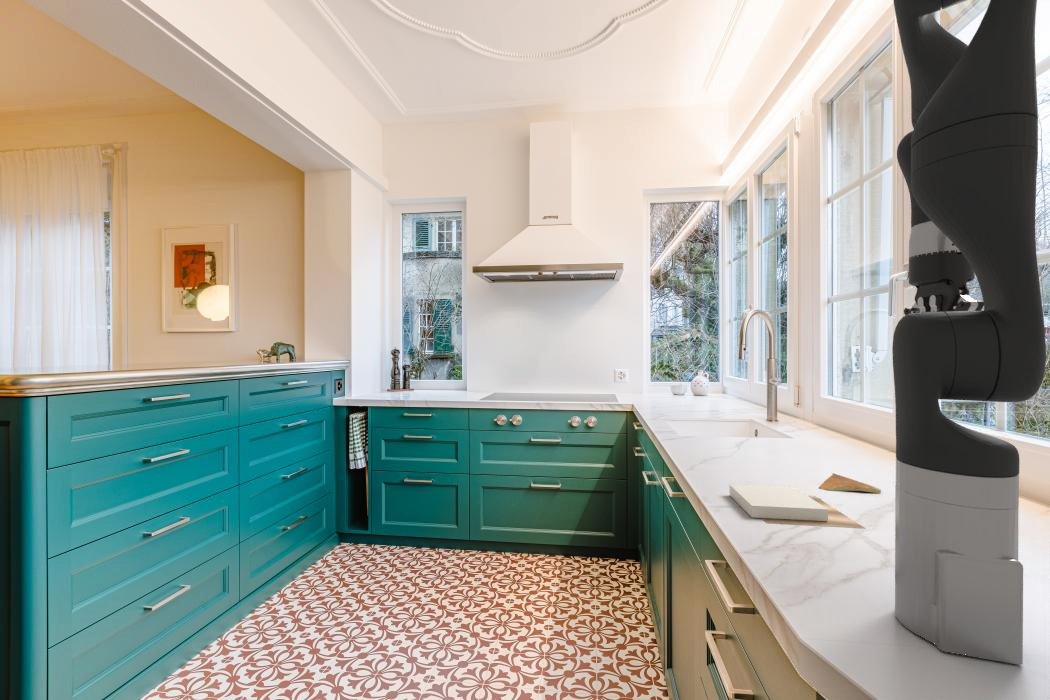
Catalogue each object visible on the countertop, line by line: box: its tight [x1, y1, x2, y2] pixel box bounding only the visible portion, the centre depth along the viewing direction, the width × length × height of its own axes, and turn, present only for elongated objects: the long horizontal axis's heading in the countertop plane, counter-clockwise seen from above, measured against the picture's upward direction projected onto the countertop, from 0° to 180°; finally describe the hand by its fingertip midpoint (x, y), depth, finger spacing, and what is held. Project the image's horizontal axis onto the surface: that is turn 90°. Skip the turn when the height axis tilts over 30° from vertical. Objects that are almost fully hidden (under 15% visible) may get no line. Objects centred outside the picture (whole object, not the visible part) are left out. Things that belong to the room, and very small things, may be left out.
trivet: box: [761, 495, 865, 529], centre depth 81 cm, size 16×15×1 cm
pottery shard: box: [818, 473, 882, 495], centre depth 94 cm, size 10×9×2 cm
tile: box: [729, 484, 828, 521], centre depth 82 cm, size 12×2×12 cm
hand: (939, 364), depth 69 cm, fingers closed
